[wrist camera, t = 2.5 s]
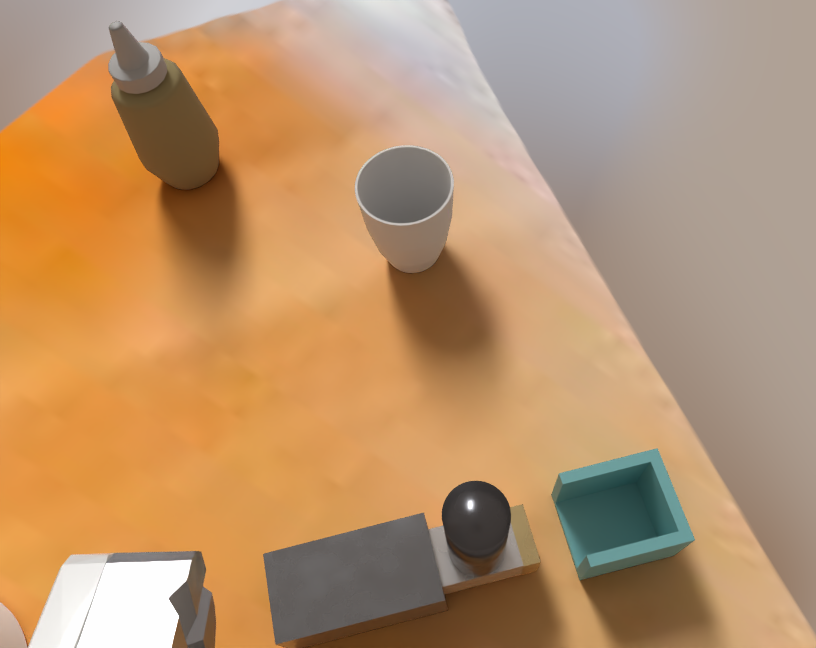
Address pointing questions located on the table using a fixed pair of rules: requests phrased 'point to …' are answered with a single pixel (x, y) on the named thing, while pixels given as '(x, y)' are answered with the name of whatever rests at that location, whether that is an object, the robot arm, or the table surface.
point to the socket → (620, 514)
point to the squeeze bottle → (162, 113)
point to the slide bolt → (481, 538)
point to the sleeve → (353, 583)
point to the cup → (407, 205)
